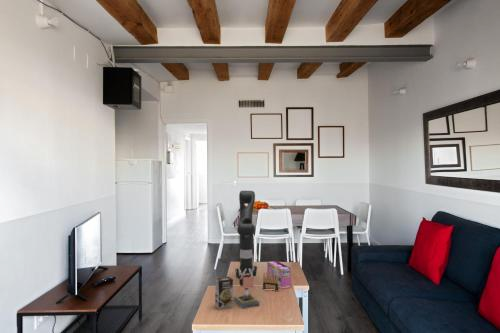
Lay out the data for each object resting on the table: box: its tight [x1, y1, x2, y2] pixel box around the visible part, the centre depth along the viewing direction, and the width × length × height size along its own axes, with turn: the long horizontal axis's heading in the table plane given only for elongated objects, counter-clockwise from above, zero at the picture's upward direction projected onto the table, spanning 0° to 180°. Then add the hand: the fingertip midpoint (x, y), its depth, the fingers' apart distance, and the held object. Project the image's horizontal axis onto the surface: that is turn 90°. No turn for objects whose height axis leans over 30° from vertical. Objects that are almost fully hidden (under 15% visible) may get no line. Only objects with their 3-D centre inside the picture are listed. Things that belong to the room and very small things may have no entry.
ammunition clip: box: [262, 271, 280, 290], centre depth 205 cm, size 11×2×12 cm, turn 74°
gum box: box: [266, 260, 292, 288], centre depth 219 cm, size 24×8×14 cm, turn 23°
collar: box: [239, 274, 254, 289], centre depth 183 cm, size 6×6×6 cm
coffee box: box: [214, 276, 234, 310], centre depth 178 cm, size 9×6×16 cm
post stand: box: [233, 288, 260, 310], centre depth 183 cm, size 14×11×9 cm
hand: (246, 284), depth 183 cm, fingers closed on collar, 6 cm apart
